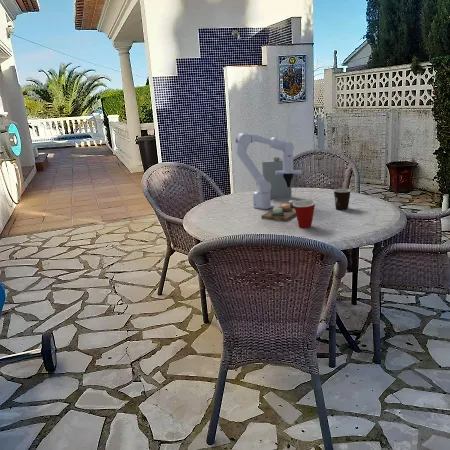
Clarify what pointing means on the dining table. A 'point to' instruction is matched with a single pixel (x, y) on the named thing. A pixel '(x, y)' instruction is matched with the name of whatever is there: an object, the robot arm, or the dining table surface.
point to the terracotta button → (285, 206)
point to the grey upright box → (276, 178)
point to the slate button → (292, 202)
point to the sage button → (277, 210)
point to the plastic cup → (304, 212)
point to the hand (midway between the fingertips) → (288, 186)
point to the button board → (281, 214)
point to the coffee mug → (342, 198)
